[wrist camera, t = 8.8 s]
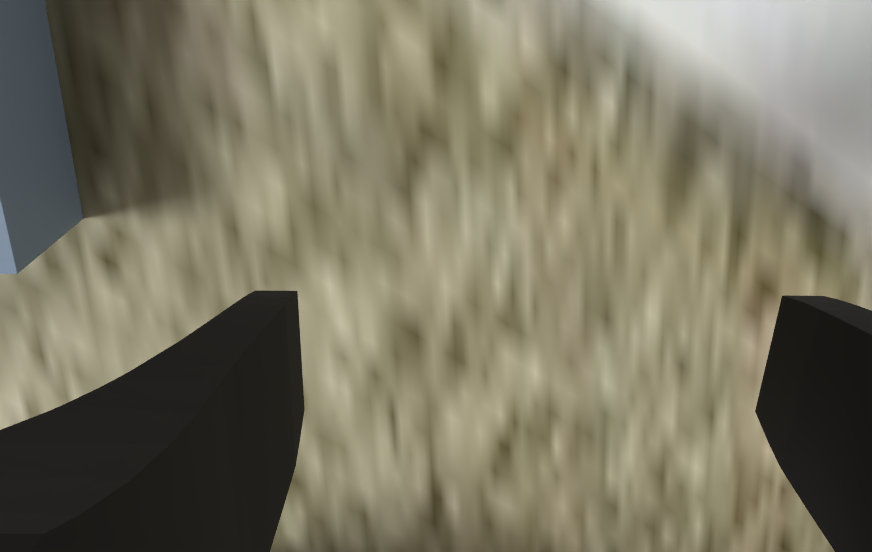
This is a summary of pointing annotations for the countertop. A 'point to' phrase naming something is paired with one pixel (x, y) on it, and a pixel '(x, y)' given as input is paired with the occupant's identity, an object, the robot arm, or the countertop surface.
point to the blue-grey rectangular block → (32, 140)
